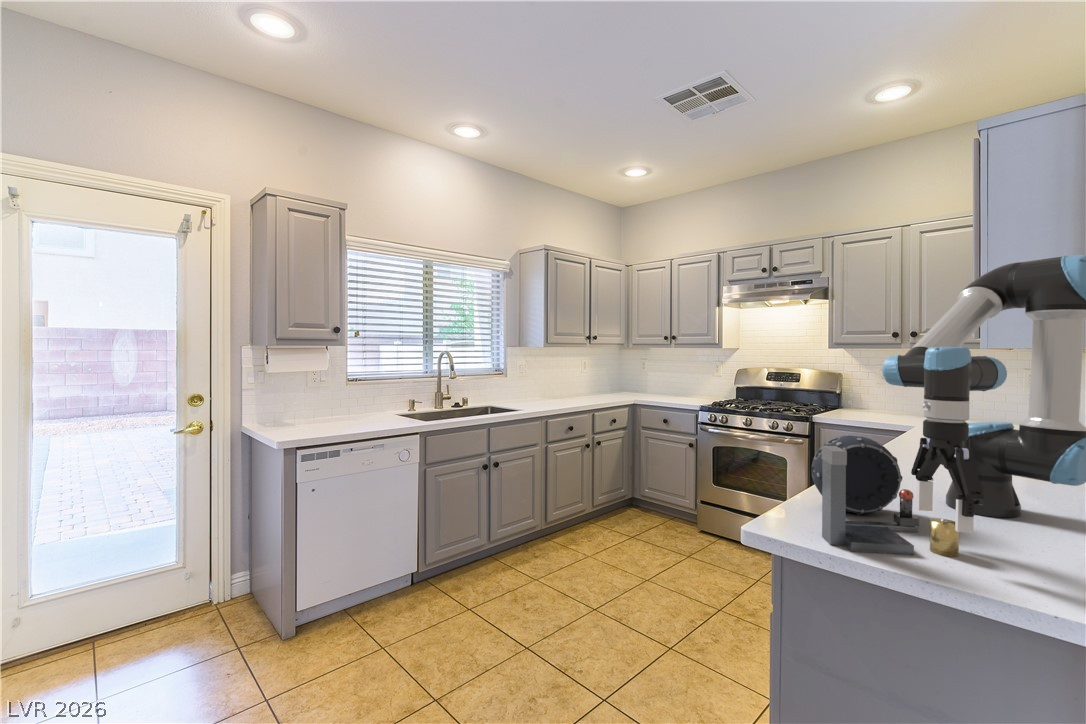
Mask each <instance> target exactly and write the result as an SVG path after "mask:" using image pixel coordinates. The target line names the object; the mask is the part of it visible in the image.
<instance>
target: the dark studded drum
mask: <svg viewBox="0 0 1086 724" xmlns="http://www.w3.org/2000/svg"><path fill="white" fill-rule="evenodd" d="M822 446H837V447H839V448H841V449H843V450H845V451H847V465H846V512H849V513H852V514H853V513H854V514H856V515H863V514H869V513H874V512H880V511H882V510H883V509H884V508H886V507H888V506H889V504H890V503H892V502H893V501H894V500H895V499H897V498H898V494H899V492H900V488H901V483H902V481H903V476H902V473H901V470H900V466H899V464H898V458H897V457H896V456H894V454H893V453H892V452H891V451H890V450H889V449H887V448H886V447H885V446H884V445H883V444H882V443H879V442H878V441H875V440H874V439H871V438H868V437H865V436H861V435H841V436H837V437H835V438H832V439H830V440H828V441H826V442H825V443H824V444H822V445H821V446H820V447H819V449H818V450H817V451H816V453H815V454H814V456H813V458H812V462H811V463H812V464H811V478H812V481H813V483H814V485H815V487H816V489H817V490H818V492H819V494H820V495H821V496H822Z"/></svg>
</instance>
